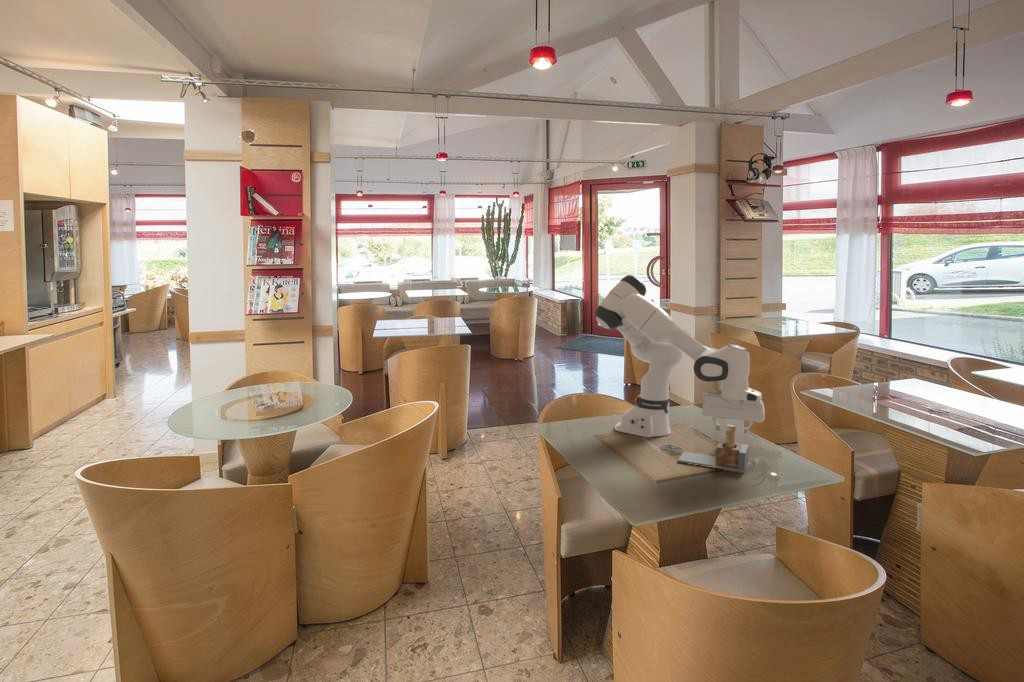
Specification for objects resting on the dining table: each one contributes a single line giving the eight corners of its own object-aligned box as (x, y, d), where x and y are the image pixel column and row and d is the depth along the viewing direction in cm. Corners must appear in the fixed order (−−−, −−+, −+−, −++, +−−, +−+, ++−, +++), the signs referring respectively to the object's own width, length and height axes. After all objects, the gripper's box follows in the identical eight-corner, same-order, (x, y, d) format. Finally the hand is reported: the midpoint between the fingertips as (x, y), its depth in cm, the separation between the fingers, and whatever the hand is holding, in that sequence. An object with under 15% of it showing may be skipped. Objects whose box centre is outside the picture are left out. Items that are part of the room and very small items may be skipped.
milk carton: (741, 448, 235) (744, 399, 232) (741, 453, 228) (745, 403, 225) (721, 445, 237) (724, 397, 234) (721, 451, 230) (724, 402, 227)
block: (715, 463, 214) (716, 447, 213) (719, 457, 220) (720, 441, 219) (738, 467, 210) (739, 450, 209) (741, 460, 217) (742, 444, 216)
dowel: (723, 460, 214) (725, 426, 212) (724, 457, 217) (726, 424, 215) (732, 461, 213) (735, 428, 211) (734, 458, 216) (736, 425, 214)
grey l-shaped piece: (677, 462, 218) (678, 443, 217) (683, 454, 227) (684, 435, 226) (743, 473, 209) (745, 453, 207) (747, 464, 217) (748, 444, 216)
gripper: (701, 390, 213) (699, 429, 216) (765, 397, 205) (762, 437, 207) (704, 387, 219) (702, 424, 221) (766, 393, 210) (763, 432, 212)
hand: (731, 431), depth 214 cm, fingers open, 8 cm apart
